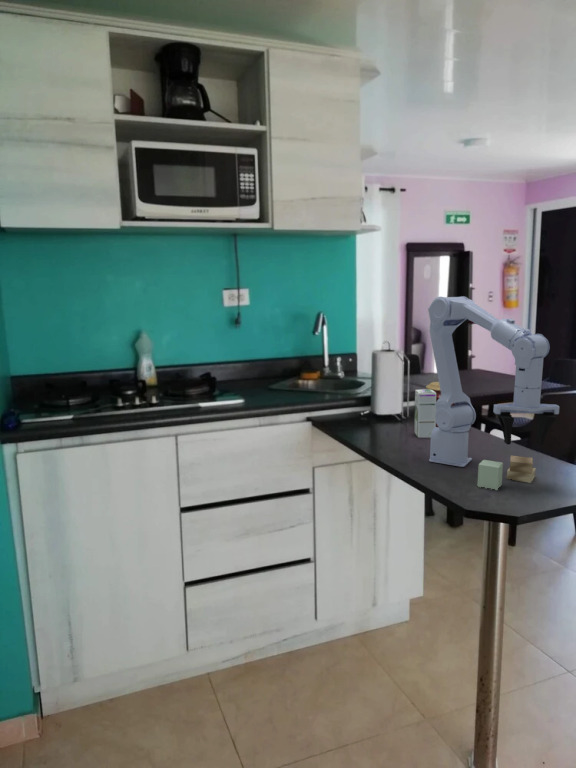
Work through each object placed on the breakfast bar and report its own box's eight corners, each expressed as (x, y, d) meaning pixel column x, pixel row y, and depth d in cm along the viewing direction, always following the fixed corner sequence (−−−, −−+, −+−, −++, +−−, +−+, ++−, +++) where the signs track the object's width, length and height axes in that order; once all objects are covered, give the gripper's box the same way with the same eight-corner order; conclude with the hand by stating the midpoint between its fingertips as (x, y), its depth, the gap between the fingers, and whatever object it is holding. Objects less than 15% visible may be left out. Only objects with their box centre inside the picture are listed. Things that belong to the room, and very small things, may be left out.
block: (477, 486, 133) (478, 464, 132) (482, 481, 136) (483, 459, 135) (497, 490, 130) (498, 467, 129) (501, 484, 134) (503, 462, 133)
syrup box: (435, 437, 176) (437, 392, 173) (416, 437, 176) (418, 392, 173) (431, 433, 181) (433, 389, 179) (413, 433, 181) (414, 389, 179)
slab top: (509, 471, 137) (510, 461, 137) (510, 465, 142) (510, 455, 141) (531, 473, 135) (532, 463, 135) (531, 467, 140) (532, 457, 139)
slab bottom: (506, 480, 138) (507, 470, 138) (511, 473, 142) (512, 464, 142) (530, 484, 135) (531, 474, 135) (534, 478, 140) (535, 468, 139)
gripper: (502, 389, 127) (498, 448, 129) (567, 389, 127) (562, 448, 129) (491, 384, 134) (488, 439, 136) (553, 384, 134) (548, 439, 136)
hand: (523, 443), depth 133 cm, fingers open, 7 cm apart
